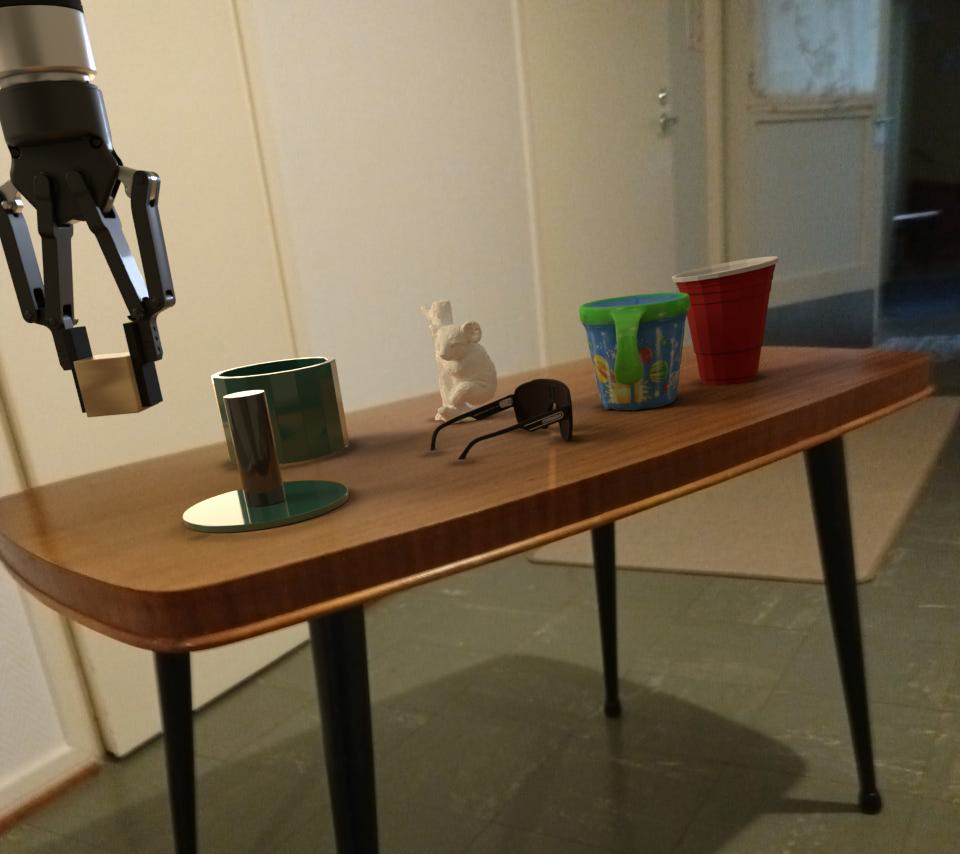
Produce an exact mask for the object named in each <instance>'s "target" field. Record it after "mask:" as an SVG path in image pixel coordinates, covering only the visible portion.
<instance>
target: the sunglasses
mask: <svg viewBox="0 0 960 854" xmlns="http://www.w3.org/2000/svg"><path fill="white" fill-rule="evenodd" d="M554 405H555V408H554ZM511 408H513V411H514V412H513V413H514V415H515V419H516V422H517V423H516V424H513V425H511V426H508V427H505V428H502V429H499V430H496V431H494V432H491V433H487V434H484V435H481V436H478V437H476V438H474V439H473V440H471V441H470V442H469V443H468V444H467V445H466V447H465V448H464V449H463V451H462V453H461V454H460V455H459V457H457V458H458V459H457V460H466V459H467V455H468V454H469V452H470V450H471V449H472V448H473V447H474V446H475V445H476V444H478V443H480V442H481V441H484V440H488V439H491V438H495V437H498V436H501V435H504V434H507V433H510V432H513V431H516V430H519V429H521V430H524V431H527V432H529V433H532V432H533V433H534V432H536V431H539V430H547V429H549V426H551V425H554V424H557V423H558V426H559V431H560V436H561V438H562V440H564V441H567V442H571V441H572V439H573V432H574V428H573V427H574V415H573V402H572V395H571V390H570V388H569V387H568V385H567V384H566V383H564V382H563V381H561V380H558V379H555V378H534V379H532V380H530V381H527V382H523V383H521V384H520V385H518V386H517V387H516V388H515V389H514V392H513V393H511V394H508V395H506V396H504V397H501V398H499V399H496V400H493V401H492V402H489V403H486V404H483V405H482V406H479V407H478V408H477V409H474V410H472V411H469V412H467V413H464V414H462V415H460V416H457V417H455V418H453V419H451V420H449V421H447V422H445V421H444V422H443V423H441V424H439V425H438V426H437V427H436V428H435V429H434V431H433V433H432V436H431V440H430V451H432V452H433V451H435V450H436V442H437V438H438V437H437V436H438V434H439V433H440V432H441V430H443V429H444V428H447V427H448V426H450V425H453V424H452V423H455V422H457V421H459V420H462V419H464V418H467V417H472V418H474V419H477V420H476V421H482V420H484V419H487V418H489V417H492V416H494V415H496V414H499V413H501V412H503V411H506V410H509V409H511ZM455 424H456V423H455Z"/></svg>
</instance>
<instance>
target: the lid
mask: <svg viewBox="0 0 960 854" xmlns="http://www.w3.org/2000/svg"><path fill="white" fill-rule="evenodd" d="M223 399H224V403H225V408H226V413H227V418H228V422H229V427H230V432H231V436H232V441H233V446H234V450H235V455H236V460H237V464H238V465H237V469H238V473H239V477H240V482H241V487H242V488H241V489H236V490H233V491H228V492H225V493H222V494H219V495H216V496H215V495H214V496H212V497H210V498H207V499H205V500H202V501H200V502H198V503H196V504H194V505H192V506H191V507H188V508H187V509H186V510H185V511H184V513H183V514H182V522H183V524H184V526H185V527H186V528H188V529H190V530H193V531H195V532H196V531H197V532H201V533H202V532H203V533H219V534H220V533H221V534H223V533H242V532H251V531H258V530H265V529H270V528H277V527H282V526H286V525H290V524H295V523H299V522H303V521H306V520H309V519H313V518H316V517H319V516H322V515H324V514H327V513H329V512H332V511H333V510H336V509H337V508H339V507H341V506H342V505H343V504H345V503H346V502H347V501H348V499H349V497H350V492H349V488H348V487H347V486H346V485H345V484H343V483H340V482H338V481H337V482H336V481H331V480H322V479H321V480H320V479H319V480H318V479H310V480H309V479H307V480H306V479H305V480H304V479H303V480H289V481H284V480H283V475H282V470H281V464H279V460H278V454H277V449H276V444H275V439H274V434H273V429H272V424H271V419H270V414H269V409H268V404H267V399H266V394H265V391H264V390H251V391H244V392H238V393H233V394H229V395H226V396H224V397H223Z"/></svg>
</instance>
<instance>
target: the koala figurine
mask: <svg viewBox="0 0 960 854" xmlns="http://www.w3.org/2000/svg"><path fill="white" fill-rule="evenodd" d="M420 312H421V313H422V315H423V316H424V317H425V318H426V319H427V321H429V323H431V324H430V325H429V326H428V327H429V329H430V332H431V338H432V340H433V341H434V347H435V351H434V354H435V356H434V357H435V362H436V363H437V367H438V372H437V373H438V379H439V393H440V397H441V402H442V406H440V407H439V408H437V413H436V415H435V417H434V420H435V421H443V422H444V423H445V422H447V421H449V420H451V419H453V418H455V417H457V416H460V415H462V414H464V413H467V412H469V411H472V410H474V409H477V408H479V407H478V406H480V405H484V404H485V403H486V404H487V403H488V402H490V401H492V399H493V398H494V396H495V394H496V392H497V389H498V375H497V374H498V373H497V369H496V366H495V363H494V361H493V360H492V359H491V356H490V355H489V353H488V352H487V350H486V349H485V347H484V345H482V344H481V343H480V341H481V340H482V335H483V334H482V333H483V331H482V329H481V325H480V324H479V323H478V322H477V321H476V320H467V321H466V322H464V323H463V324H460V323H454V319H453V308H452V304H451V301H450V300H449V298H445V299H441V300H438V301H434V302H432V304H431V305H430V306H429V305H428V304H423V305H422V306H421V307H420ZM475 421H478V420H477V419H474V418H472V417H467V418H464V419H462V420H459V421H457V422H455V423H452V424H451V425H455V424H459V423H465V422H475Z"/></svg>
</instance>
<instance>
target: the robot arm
mask: <svg viewBox="0 0 960 854" xmlns="http://www.w3.org/2000/svg"><path fill="white" fill-rule="evenodd" d="M88 28H89V27H88V24H87V20H86V15H85V11H84V6H83V4H82V0H0V127H1V130H2V134H3V138H4V139H3V140H4V143H5V144H6V147H7V149H8V151H9V154H10V160H11V162H10V169H9V179H8V180H6V181H5V182H3V183H1V184H0V243H1V247H2V250H3V254H4V257H5V261H6V264H7V267H8V271H9V274H10V278H11V281H12V285H13V289H14V292H15V295H16V299H17V302H18V306H19V310H20V314H21V316H22V319H23V321H25V322H26V323H27V324H35V325H40V326H43V327H45V328H47V329H48V330H49V331H50V333H51V335H52V339H53V343H54V347H55V351H56V355H57V359H58V363H59V365H60V367H61V368H62V370H63V371H66V372H67V371H71V374H72V378H73V382H74V386H75V390H76V394H77V397H78V401H79V406H80V409H81V413H82V414H85V413H86V410H85V406H84V402H83V398H82V394H81V390H80V386H79V382H78V378H77V374H76V370H75V366H74V362H75V361H78V360H82V359H85V358H89V357H92V356H94V355H93V351H92V347H91V342H90V338H89V335H88V330H87V327H86V326H85V325H81V326H77V325H78V323H79V321H80V319H78V318H75V299H74V298H75V297H74V296H75V295H74V278H73V277H74V276H73V275H74V274H73V255H72V252H73V251H72V239H73V236H74V225H75V224H78V223H80V222H85V223H86V226H87V227H88V229H89V231H90V232H91V233H92V234H93V235H94V236H95V239H96V241H97V243H98V245H99V247H100V250H101V252H102V255H103V257H104V259H105V261H106V263H107V266H108V268H109V270H110V272H111V275H112V277H113V280H114V282H115V284H116V286H117V288H118V291H119V293H120V295H121V297H122V300H123V301H124V304H125V307H126V309H127V310H128V313H129V315H127V316H126V318H127V319H128V320H129V322H124V323H122V327H123V328H122V329H123V331H124V336H125V340H126V345H127V349H128V352H129V354H130V356H131V360H132V365H133V369H134V373H135V378H136V382H137V386H138V391H139V395H140V399H141V404H142V407H150V408H152V407H154V406H153V405H155V404H157V403H159V404H160V403H162V402H163V401H164V399H163V398H164V397H163V393H162V390H161V385H160V380H159V375H158V372H157V367H156V363H155V362H158V361H161V360H163V358H164V357H163V356H164V351H163V345H162V341H161V336H160V332H159V328H158V322H157V318H158V316H159V315H160V314H161V313H162V312H164V311H166V310H168V309H170V308H173V307H174V306H175V305H176V302H177V298H176V292H175V288H174V283H173V276H172V273H171V266H170V261H169V257H168V251H167V246H166V240H165V236H164V231H163V226H162V220H161V215H160V210H159V200H160V199H159V198H160V190H161V183H162V182H161V178H160V177H161V176H160V175H159V174H158V173H157V172H155V171H149V170H142V169H136V168H133V167H129V166H126V165H124V162H123V161H122V159H121V157H120V156H119V155H118V154H117V152H116V150H115V148H114V145H113V139H112V137H113V136H112V131H111V127H110V121H109V119H108V118H109V117H108V113H107V108H106V105H105V100H104V95H103V91H102V90H101V89H100V88H99V86H97V85H96V84H93V83H92V81H93V80H94V79H95V78H96V77H97V75H98V70H97V65H96V61H95V56H94V52H93V46H92V42H91V38H90V33H89V29H88ZM121 184H122V185H123V187H124V193H125V195H126V196H127V198H129V199H130V210H131V217H132V222H133V226H134V227H133V228H134V231H135V236H136V241H137V246H138V251H139V257H140V261H141V266H142V271H143V275H144V278H143V275H142V273H141V270H140V268H139V266H138V264H137V262H136V260H135V257H134V255H133V253H132V250H131V247H130V245H129V244H128V241H127V238H126V237H125V234H124V232H123V225H122V221H121V218H120V216H119V214H118V212H117V210H116V207H115V205H114V202H115V200H116V197H117V195H118V192H119V190H120V187H121ZM22 197H23V198H24V199H25V200H26V201H27V202H28V203H29V204H30V205H31V206H32V207H33V208H34V209H35V210H36V225H37V233H38V236H40V239H41V258H42V273H41V270H40V267H39V263H38V259H37V256H36V252H35V248H34V245H33V240H32V237H31V234H30V230H29V225H28V224H27V223H28V222H27V221H26V218H25V216H24V214H23V210H24V208H25V204H24V203H23V200H22ZM157 405H158V404H157ZM151 406H152V407H151ZM155 406H156V405H155Z"/></svg>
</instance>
